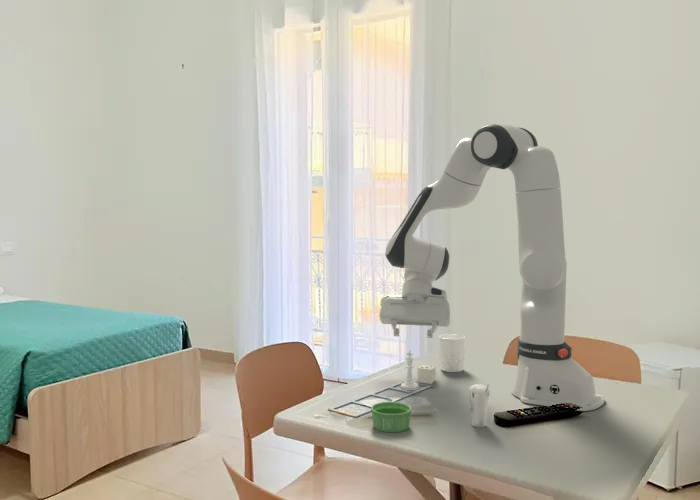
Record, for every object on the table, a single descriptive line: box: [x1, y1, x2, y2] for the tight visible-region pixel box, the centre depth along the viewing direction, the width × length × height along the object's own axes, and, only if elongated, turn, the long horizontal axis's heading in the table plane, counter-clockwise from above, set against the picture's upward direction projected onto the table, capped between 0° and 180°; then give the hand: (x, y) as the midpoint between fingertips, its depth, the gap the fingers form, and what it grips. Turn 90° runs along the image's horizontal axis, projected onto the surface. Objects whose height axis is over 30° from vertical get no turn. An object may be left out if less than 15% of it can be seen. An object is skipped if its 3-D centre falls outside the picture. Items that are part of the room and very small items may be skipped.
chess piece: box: [399, 350, 420, 391], centre depth 175 cm, size 5×5×10 cm
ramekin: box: [370, 401, 412, 433], centre depth 145 cm, size 9×9×4 cm
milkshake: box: [468, 383, 490, 428], centre depth 145 cm, size 4×5×10 cm
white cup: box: [438, 333, 466, 373], centre depth 194 cm, size 8×8×10 cm
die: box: [416, 364, 437, 385], centre depth 182 cm, size 4×4×4 cm
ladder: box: [327, 379, 433, 418], centre depth 166 cm, size 9×33×1 cm, turn 141°
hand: (412, 336), depth 183 cm, fingers open, 8 cm apart
